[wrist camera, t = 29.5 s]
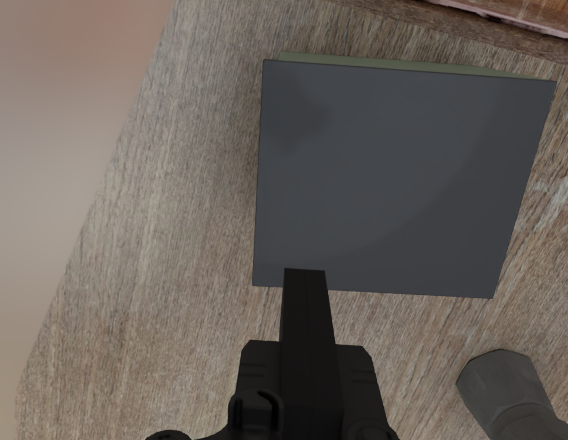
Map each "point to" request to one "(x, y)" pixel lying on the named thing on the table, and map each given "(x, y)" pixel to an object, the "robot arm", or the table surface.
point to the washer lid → (392, 175)
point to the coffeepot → (509, 398)
